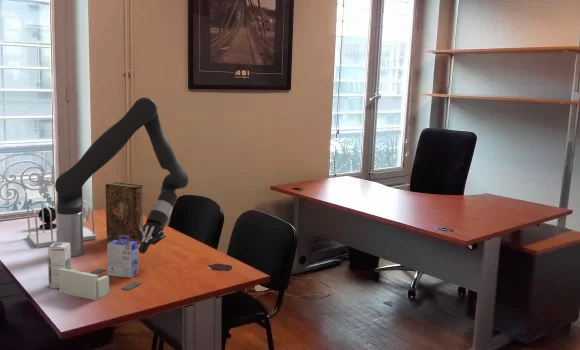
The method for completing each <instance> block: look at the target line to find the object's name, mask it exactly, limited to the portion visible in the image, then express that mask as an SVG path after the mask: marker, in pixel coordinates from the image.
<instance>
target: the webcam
mask: <svg viewBox="0 0 580 350" xmlns="http://www.w3.org/2000/svg"><path fill="white" fill-rule="evenodd" d="M47 207H48V208H49V209H50V210H51V215H52V230H53V229H57V228H56V223H55V221H56V211H55V208H54V207H51V206H47ZM43 212H44V231H45V230H46V231H47V230H51V223H50V212H49V210H48V209H47V208H45V207H43ZM38 218H39V220H40V221H41V222H42V224H40V225H39V229H40V230H43V221H42V208H41V209H40V211H39V212H38ZM53 222H54V223H53Z"/></svg>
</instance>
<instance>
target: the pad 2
mask: <svg viewBox="0 0 580 350" xmlns="http://www.w3.org/2000/svg"><path fill="white" fill-rule="evenodd" d="M142 284H143V283H142V282H140V281H132V282H131V283H129V284H127V285H125V286H123V287H122V288H121V290H125V291H130V290H132V289H135V288H136V287H138V286H140V285H142Z"/></svg>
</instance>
